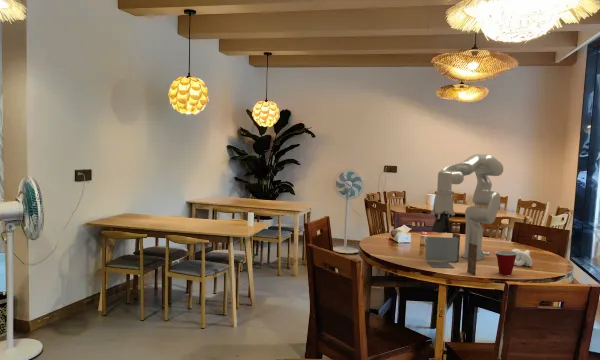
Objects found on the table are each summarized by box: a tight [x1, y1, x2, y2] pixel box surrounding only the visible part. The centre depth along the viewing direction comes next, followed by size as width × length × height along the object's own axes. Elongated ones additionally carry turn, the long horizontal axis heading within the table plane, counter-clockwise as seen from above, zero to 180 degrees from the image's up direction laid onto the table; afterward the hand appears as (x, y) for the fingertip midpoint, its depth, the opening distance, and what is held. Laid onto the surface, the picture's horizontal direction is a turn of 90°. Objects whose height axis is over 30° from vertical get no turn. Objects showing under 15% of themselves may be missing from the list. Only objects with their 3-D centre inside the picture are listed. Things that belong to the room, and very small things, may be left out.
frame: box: [451, 232, 477, 276], centre depth 245 cm, size 2×35×16 cm, turn 178°
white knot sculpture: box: [511, 248, 533, 267], centre depth 254 cm, size 11×12×9 cm
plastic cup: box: [494, 250, 517, 276], centre depth 232 cm, size 11×11×12 cm
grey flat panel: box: [424, 236, 458, 262], centre depth 254 cm, size 2×18×14 cm, turn 88°
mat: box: [426, 261, 455, 269], centre depth 247 cm, size 12×12×1 cm
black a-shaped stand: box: [431, 211, 453, 234], centre depth 246 cm, size 9×6×12 cm, turn 111°
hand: (442, 225), depth 246 cm, fingers closed on black a-shaped stand, 3 cm apart
